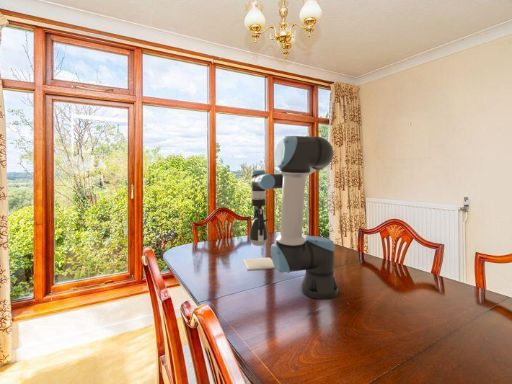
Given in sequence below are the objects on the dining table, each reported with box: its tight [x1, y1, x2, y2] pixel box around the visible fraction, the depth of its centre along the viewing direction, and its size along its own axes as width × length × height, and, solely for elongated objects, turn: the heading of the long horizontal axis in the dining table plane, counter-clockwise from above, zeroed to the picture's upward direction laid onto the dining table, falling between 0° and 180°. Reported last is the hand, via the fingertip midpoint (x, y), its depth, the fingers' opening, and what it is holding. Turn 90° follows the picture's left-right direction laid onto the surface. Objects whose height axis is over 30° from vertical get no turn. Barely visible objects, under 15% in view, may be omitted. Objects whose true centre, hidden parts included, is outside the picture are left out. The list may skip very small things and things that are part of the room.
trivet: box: [242, 257, 276, 271], centre depth 156 cm, size 16×16×1 cm
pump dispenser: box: [248, 218, 269, 247], centre depth 155 cm, size 10×10×15 cm
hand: (258, 238), depth 155 cm, fingers closed on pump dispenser, 10 cm apart
